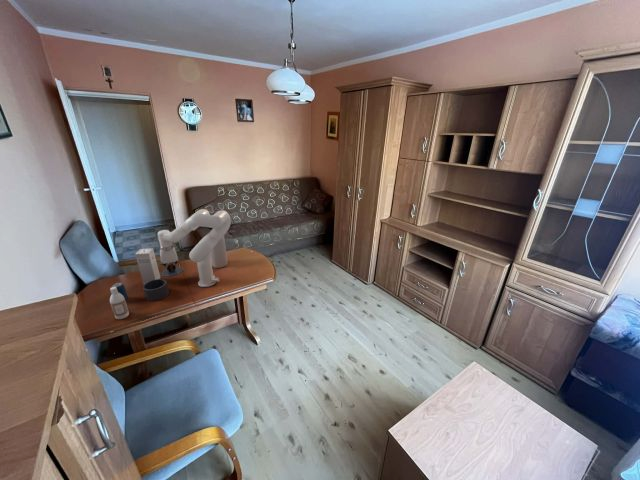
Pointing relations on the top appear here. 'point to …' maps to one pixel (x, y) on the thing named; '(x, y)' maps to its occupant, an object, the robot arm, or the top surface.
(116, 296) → the bath foam
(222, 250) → the cylinder vase
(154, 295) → the tin
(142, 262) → the box
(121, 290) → the soda can
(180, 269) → the tin lid
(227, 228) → the robot arm
